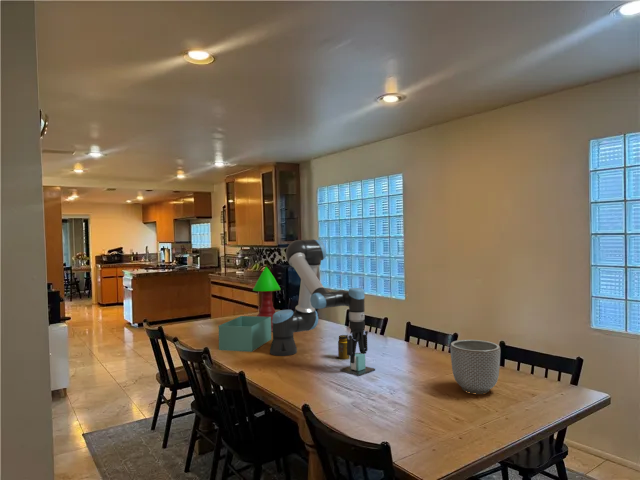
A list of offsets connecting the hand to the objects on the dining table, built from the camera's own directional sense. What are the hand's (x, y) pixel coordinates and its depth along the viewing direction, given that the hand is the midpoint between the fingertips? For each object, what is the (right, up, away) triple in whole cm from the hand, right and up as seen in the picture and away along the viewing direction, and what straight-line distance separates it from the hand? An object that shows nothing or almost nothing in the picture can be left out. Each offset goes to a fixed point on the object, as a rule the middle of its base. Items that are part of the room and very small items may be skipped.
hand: (357, 368), depth 215 cm
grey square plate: (0, -1, 0) cm, 1 cm away
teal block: (0, 0, 0) cm, 0 cm away
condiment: (-6, -1, +22) cm, 23 cm away
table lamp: (-55, -2, +99) cm, 113 cm away
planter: (+47, -1, -30) cm, 55 cm away
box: (-63, -2, +57) cm, 85 cm away
